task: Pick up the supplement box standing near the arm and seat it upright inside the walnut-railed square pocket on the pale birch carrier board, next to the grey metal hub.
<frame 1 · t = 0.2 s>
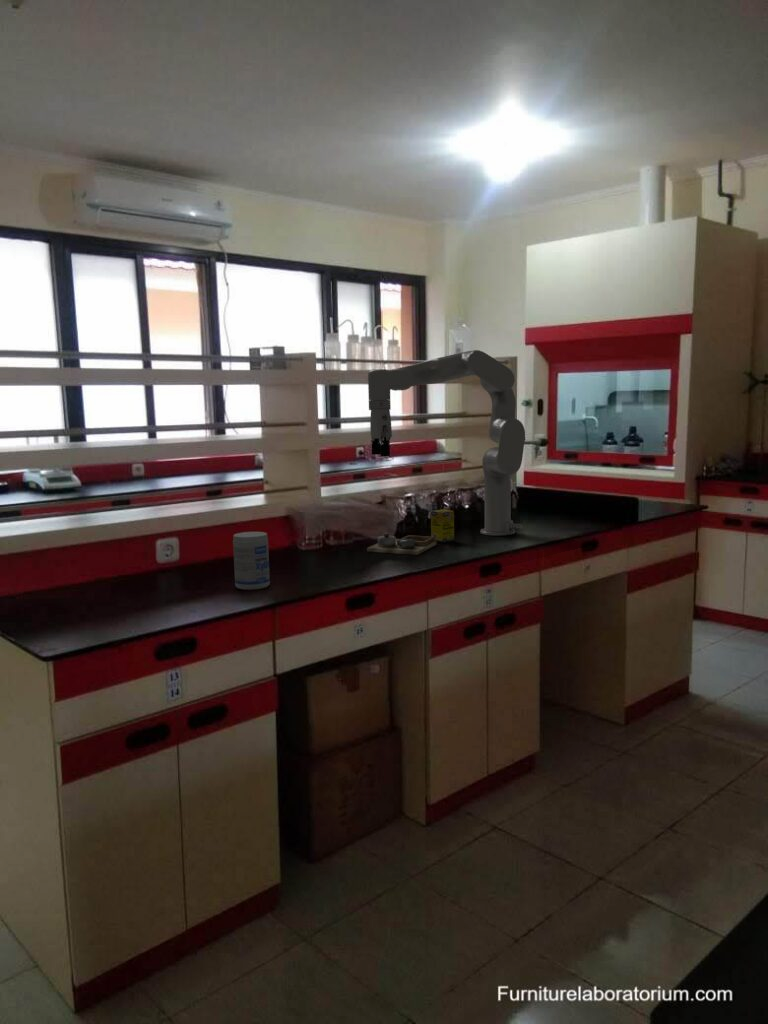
hand: (380, 455, 271), 31 cm above the countertop, fingers open, 9 cm apart
carrier board: (402, 548, 264), on the countertop
supplement tub: (252, 587, 216), on the countertop
seated puck: (407, 551, 259), resting on carrier board
supplement box: (442, 541, 275), on the countertop
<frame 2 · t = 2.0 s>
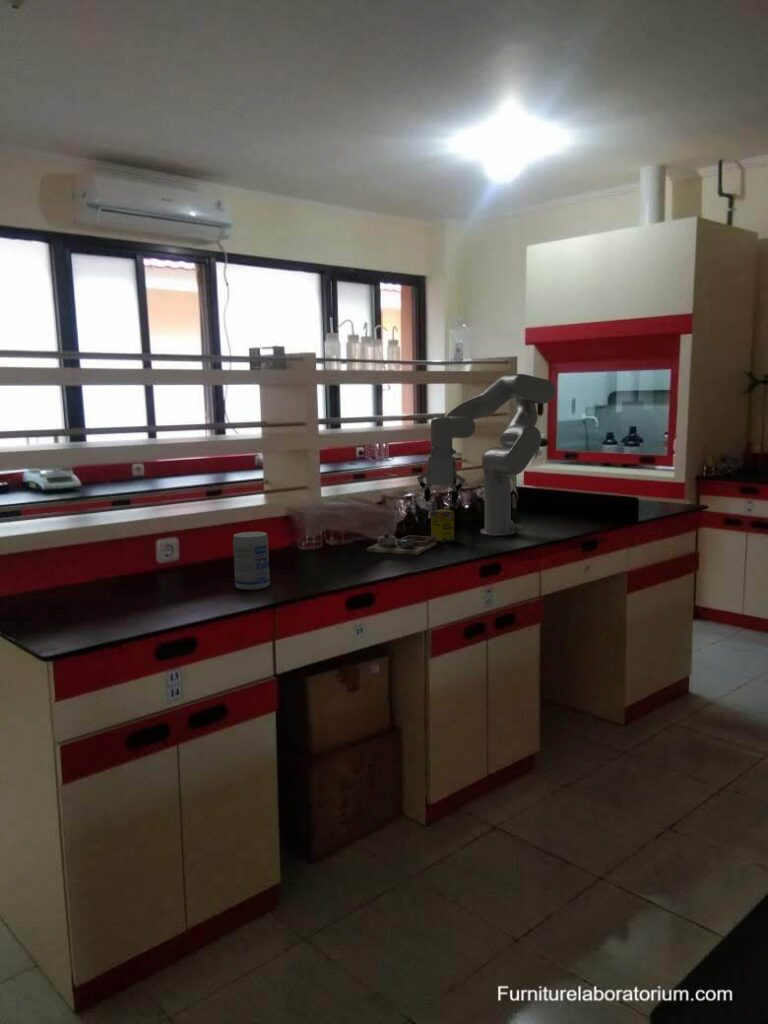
hand: (440, 501, 272), 14 cm above the countertop, fingers open, 9 cm apart
nothing on the countertop moved.
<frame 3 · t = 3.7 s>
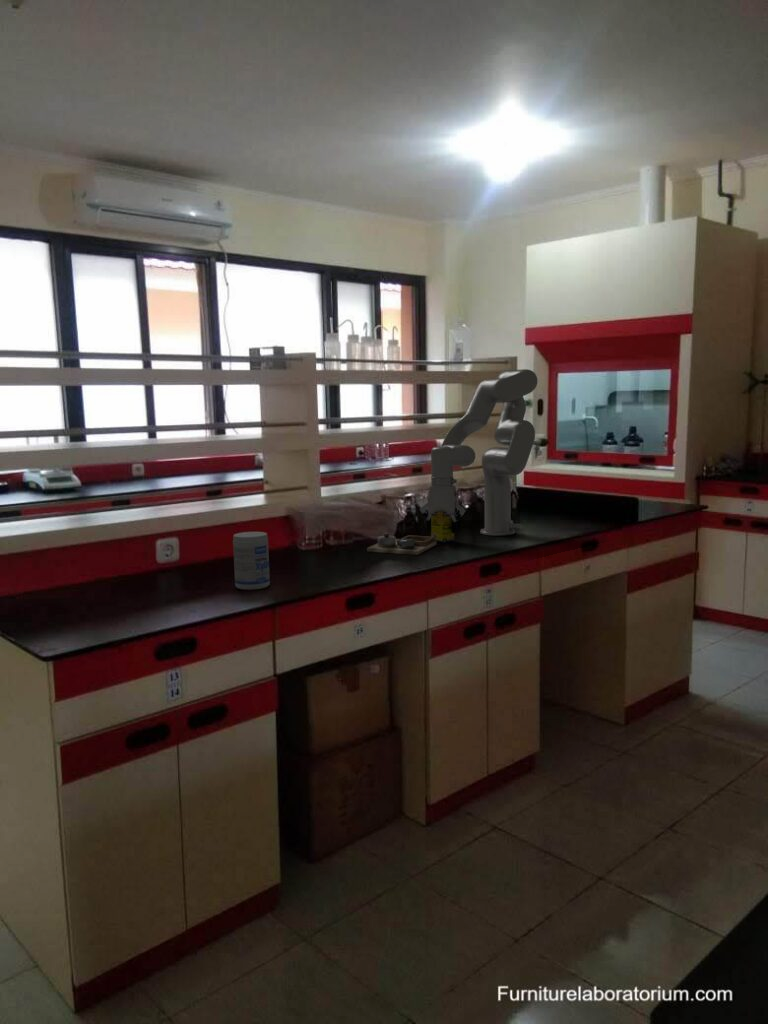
hand: (442, 531, 274), 3 cm above the countertop, fingers closed on supplement box, 7 cm apart
supplement box: (442, 541, 275), on the countertop, touching gripper
everything else where it was.
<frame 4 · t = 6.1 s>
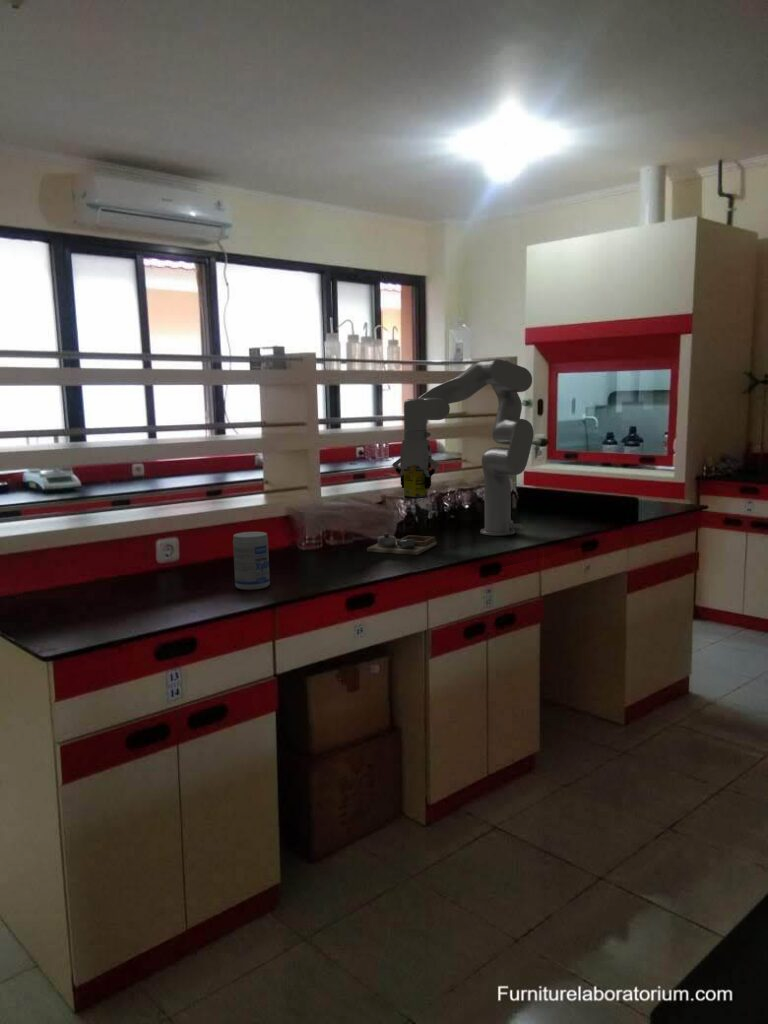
hand: (415, 487, 264), 20 cm above the countertop, fingers closed on supplement box, 7 cm apart
supplement box: (415, 498, 264), point 17 cm above the countertop, touching gripper
everything else where it was.
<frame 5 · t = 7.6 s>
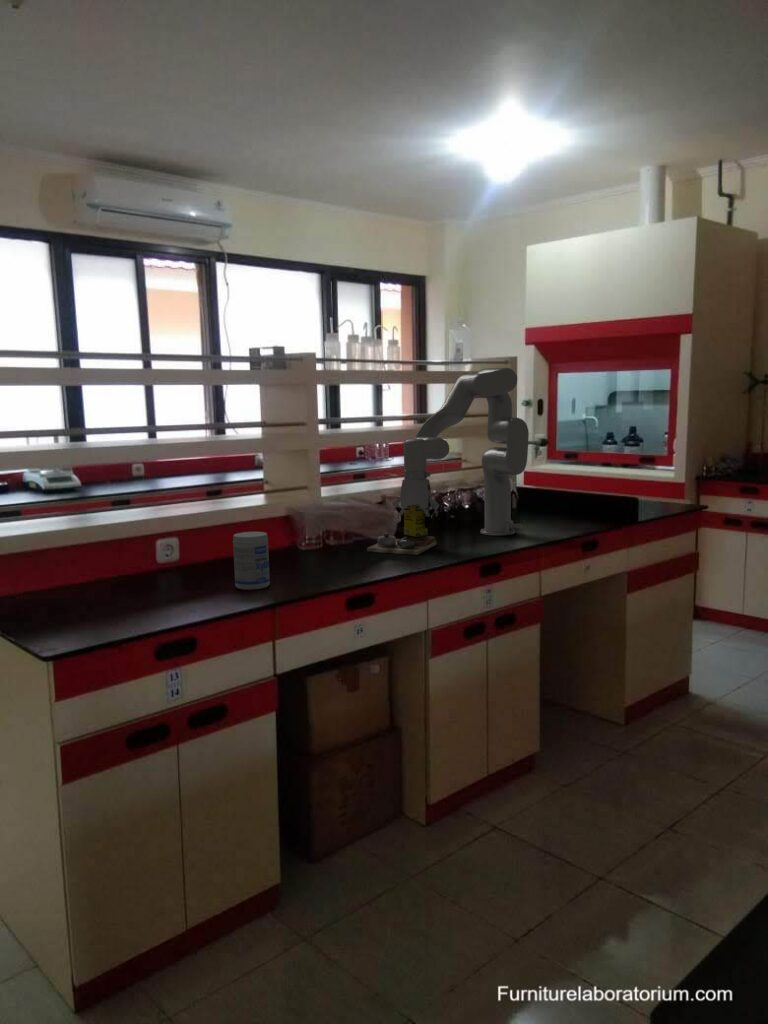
hand: (416, 526, 266), 7 cm above the countertop, fingers closed on supplement box, 7 cm apart
supplement box: (416, 537, 266), point 3 cm above the countertop, touching gripper
everything else where it was.
when the fingers open (6 cm above the countertop, at t = 8.6 s): supplement box drops 2 cm, resting on carrier board.
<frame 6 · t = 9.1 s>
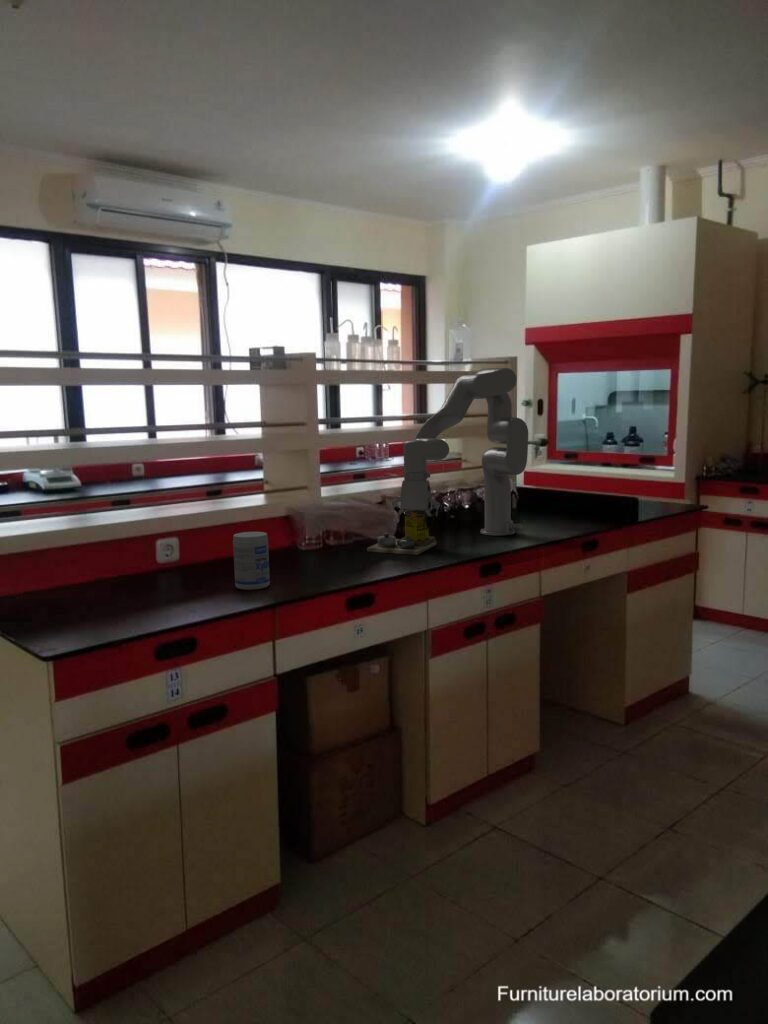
hand: (416, 526, 266), 7 cm above the countertop, fingers open, 9 cm apart
supplement box: (417, 543, 267), point 1 cm above the countertop, touching carrier board
everything else where it was.
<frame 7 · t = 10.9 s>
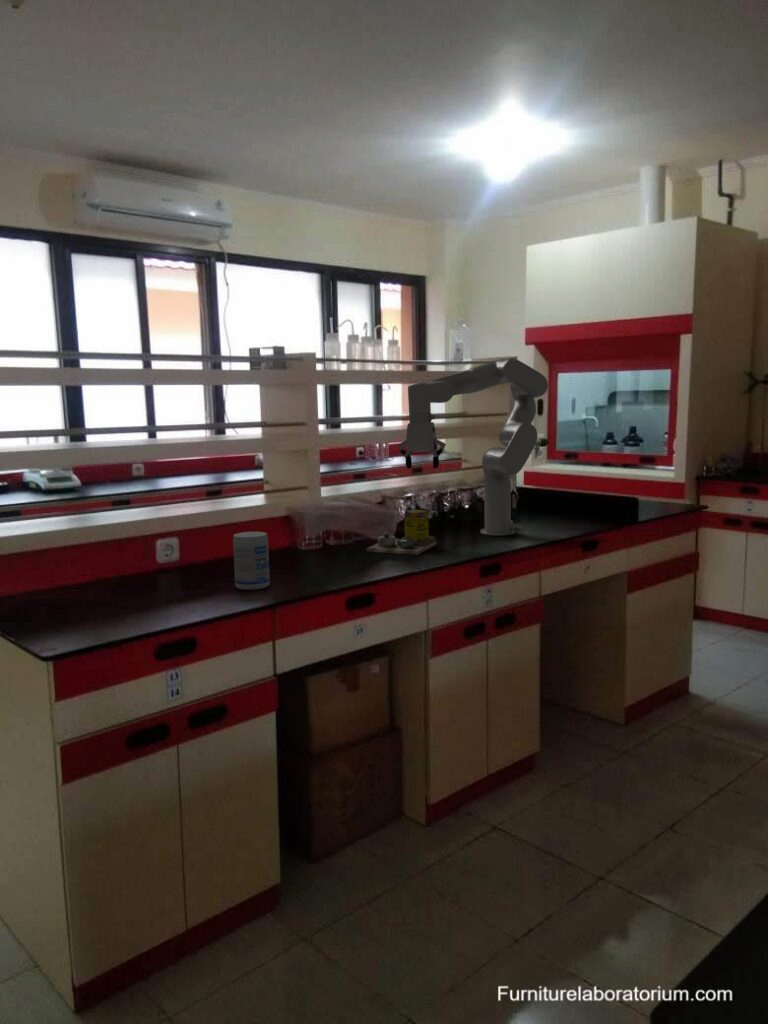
hand: (422, 468, 273), 26 cm above the countertop, fingers open, 9 cm apart
nothing on the countertop moved.
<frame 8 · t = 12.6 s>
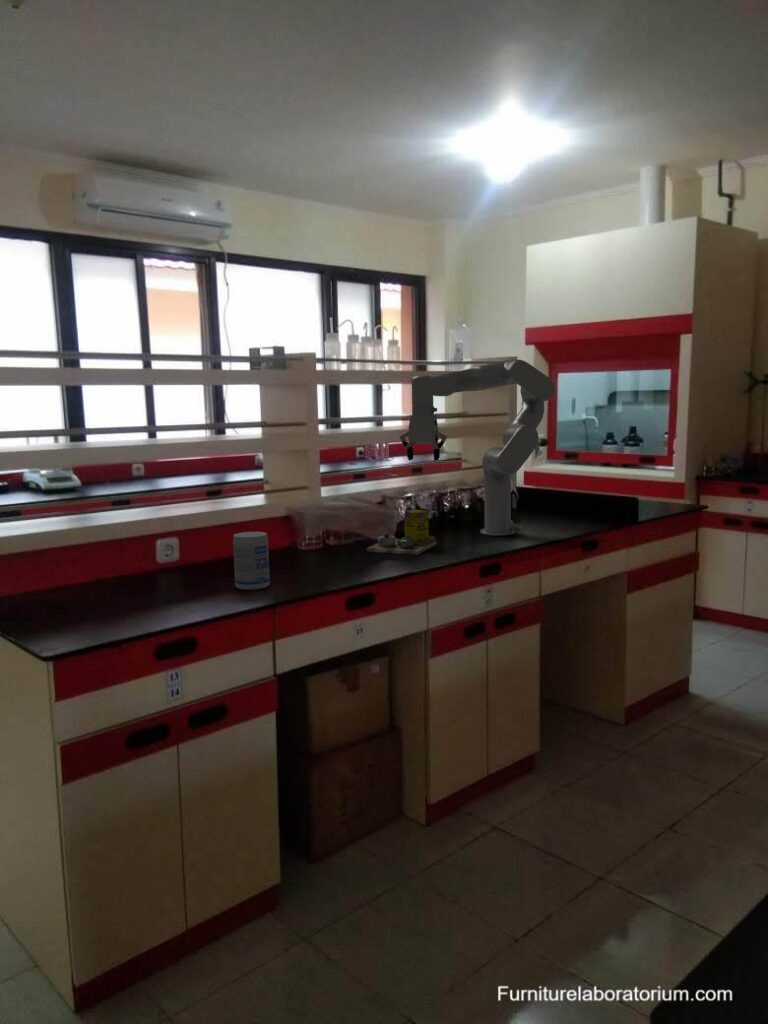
hand: (423, 460, 276), 28 cm above the countertop, fingers open, 9 cm apart
nothing on the countertop moved.
at the end: supplement box 0.2 cm from the target spot on the carrier board, point 1.0 cm above the carrier board's base; supplement box tilted 0°; the gripper is holding nothing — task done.
